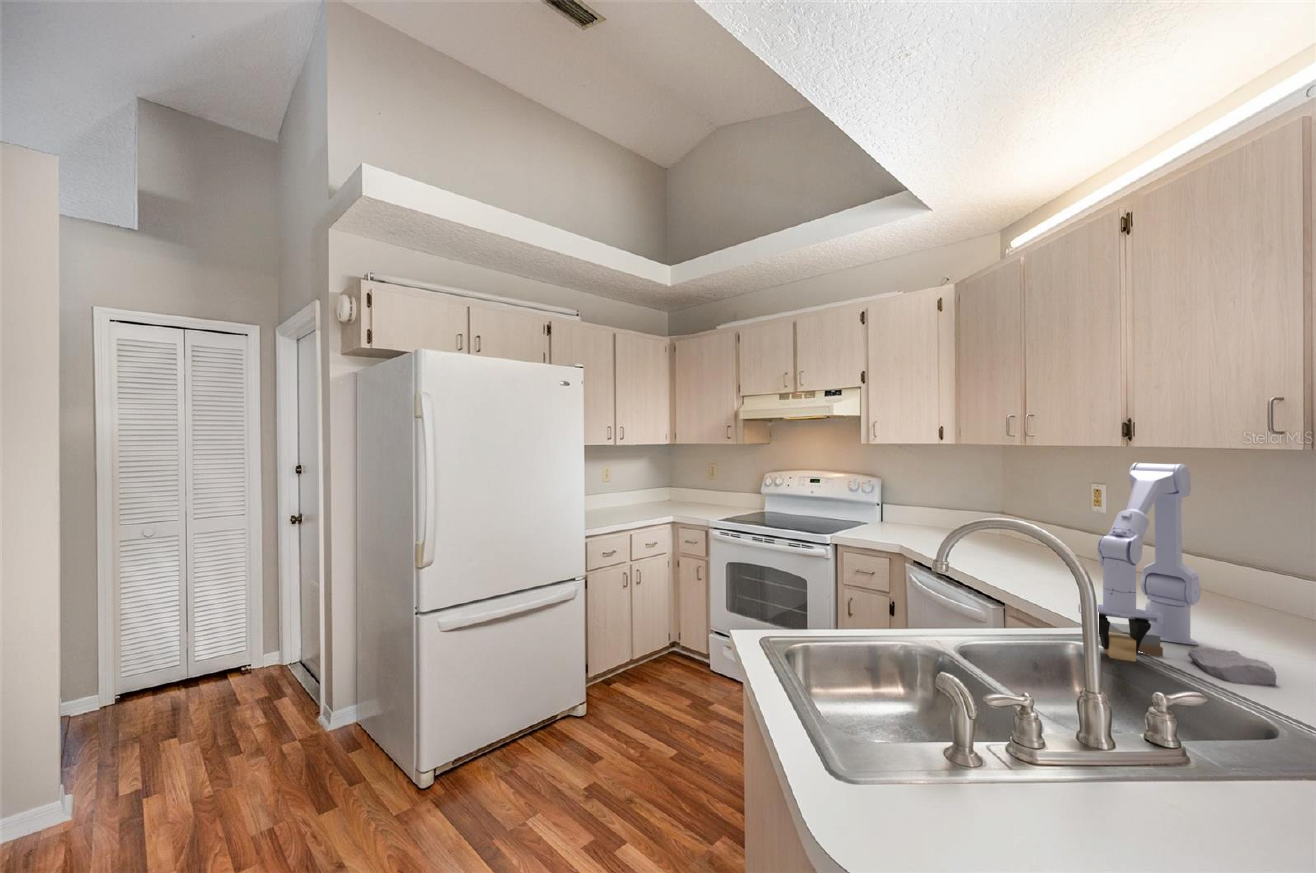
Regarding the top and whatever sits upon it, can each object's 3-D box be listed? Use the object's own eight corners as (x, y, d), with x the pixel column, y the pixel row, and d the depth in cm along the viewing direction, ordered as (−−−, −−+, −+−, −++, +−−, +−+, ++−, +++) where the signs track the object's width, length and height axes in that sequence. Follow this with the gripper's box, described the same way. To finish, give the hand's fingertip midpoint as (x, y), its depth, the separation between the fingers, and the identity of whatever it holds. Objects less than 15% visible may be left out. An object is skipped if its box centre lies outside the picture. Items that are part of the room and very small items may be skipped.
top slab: (1107, 632, 130) (1108, 622, 130) (1143, 636, 128) (1143, 626, 128) (1122, 642, 124) (1122, 632, 124) (1160, 646, 121) (1160, 635, 121)
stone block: (1227, 692, 108) (1285, 687, 106) (1220, 668, 108) (1278, 662, 106) (1181, 670, 119) (1232, 664, 118) (1175, 648, 120) (1226, 642, 118)
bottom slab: (1105, 641, 131) (1105, 631, 131) (1147, 647, 128) (1147, 636, 128) (1118, 653, 124) (1118, 642, 124) (1162, 659, 121) (1162, 648, 121)
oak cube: (1103, 651, 124) (1103, 631, 124) (1127, 654, 122) (1127, 634, 122) (1110, 658, 119) (1110, 637, 120) (1136, 661, 118) (1136, 641, 118)
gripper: (1085, 589, 120) (1085, 650, 120) (1169, 598, 114) (1169, 662, 114) (1075, 582, 127) (1075, 640, 126) (1154, 590, 121) (1154, 650, 120)
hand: (1119, 649), depth 121 cm, fingers closed on oak cube, 4 cm apart
